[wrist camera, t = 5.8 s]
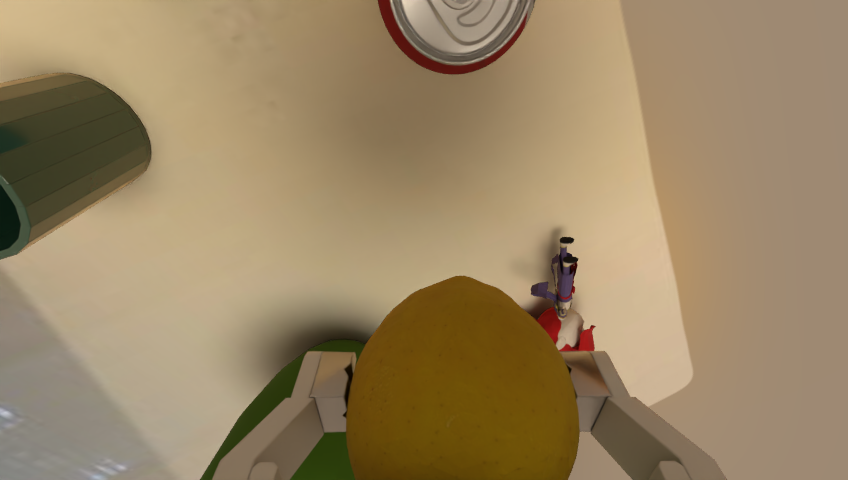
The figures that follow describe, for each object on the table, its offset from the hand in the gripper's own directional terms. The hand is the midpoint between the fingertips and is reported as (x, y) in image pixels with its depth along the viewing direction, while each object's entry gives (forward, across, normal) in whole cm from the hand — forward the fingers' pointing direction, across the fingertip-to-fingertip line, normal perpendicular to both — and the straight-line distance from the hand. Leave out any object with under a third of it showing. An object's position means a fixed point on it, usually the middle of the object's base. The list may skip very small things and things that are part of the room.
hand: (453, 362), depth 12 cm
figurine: (+21, -11, +15) cm, 29 cm away
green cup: (+21, +27, -1) cm, 34 cm away
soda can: (+21, 0, -10) cm, 23 cm away
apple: (+3, 0, 0) cm, 3 cm away
